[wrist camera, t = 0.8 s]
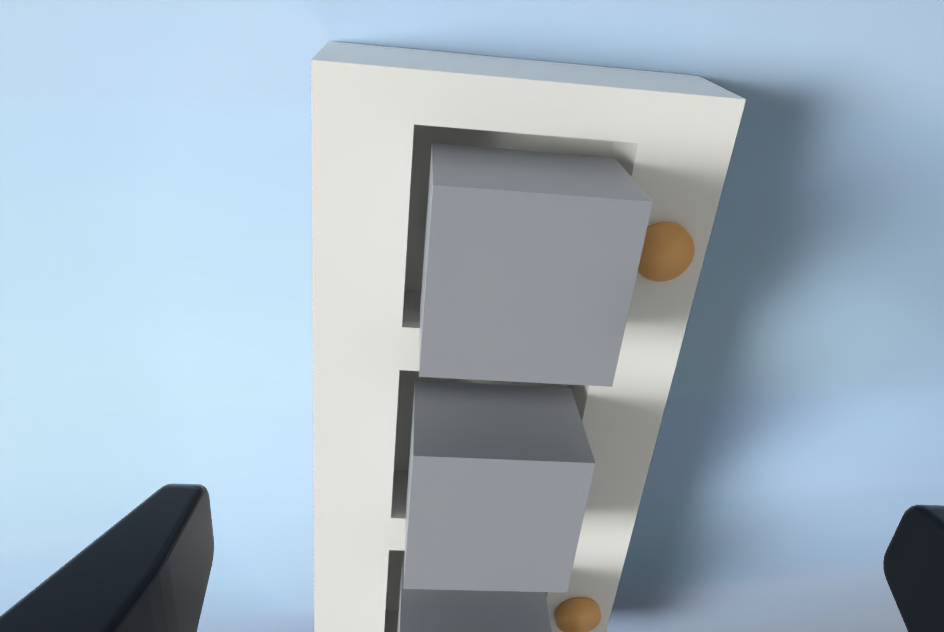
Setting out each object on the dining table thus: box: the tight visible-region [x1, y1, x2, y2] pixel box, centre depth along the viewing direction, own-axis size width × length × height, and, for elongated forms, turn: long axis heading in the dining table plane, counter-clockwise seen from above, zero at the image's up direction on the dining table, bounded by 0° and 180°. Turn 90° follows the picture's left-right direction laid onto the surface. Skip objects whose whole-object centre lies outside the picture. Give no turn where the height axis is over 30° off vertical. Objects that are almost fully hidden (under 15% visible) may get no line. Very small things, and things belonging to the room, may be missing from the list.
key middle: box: [403, 380, 595, 593], centre depth 18 cm, size 4×4×3 cm
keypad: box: [311, 41, 746, 632], centre depth 20 cm, size 19×9×3 cm, turn 174°
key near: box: [419, 143, 653, 387], centre depth 15 cm, size 4×4×3 cm
